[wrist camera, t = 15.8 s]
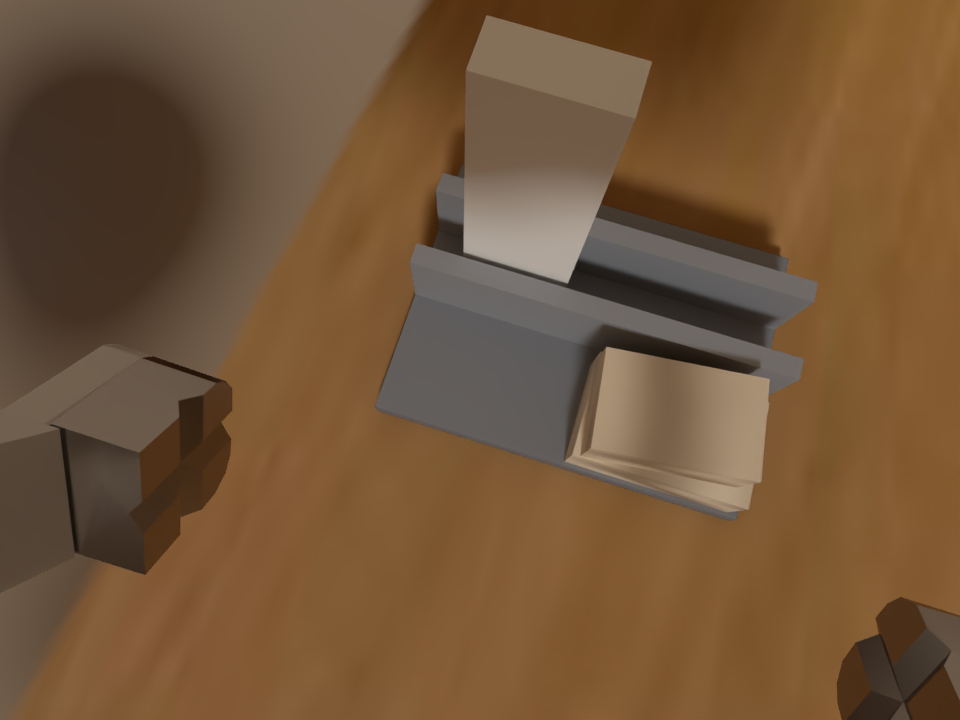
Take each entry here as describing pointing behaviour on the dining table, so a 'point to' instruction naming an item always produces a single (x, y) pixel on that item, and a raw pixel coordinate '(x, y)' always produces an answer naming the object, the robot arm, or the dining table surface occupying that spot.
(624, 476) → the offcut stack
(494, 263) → the plank
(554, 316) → the rack
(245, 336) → the dining table surface
